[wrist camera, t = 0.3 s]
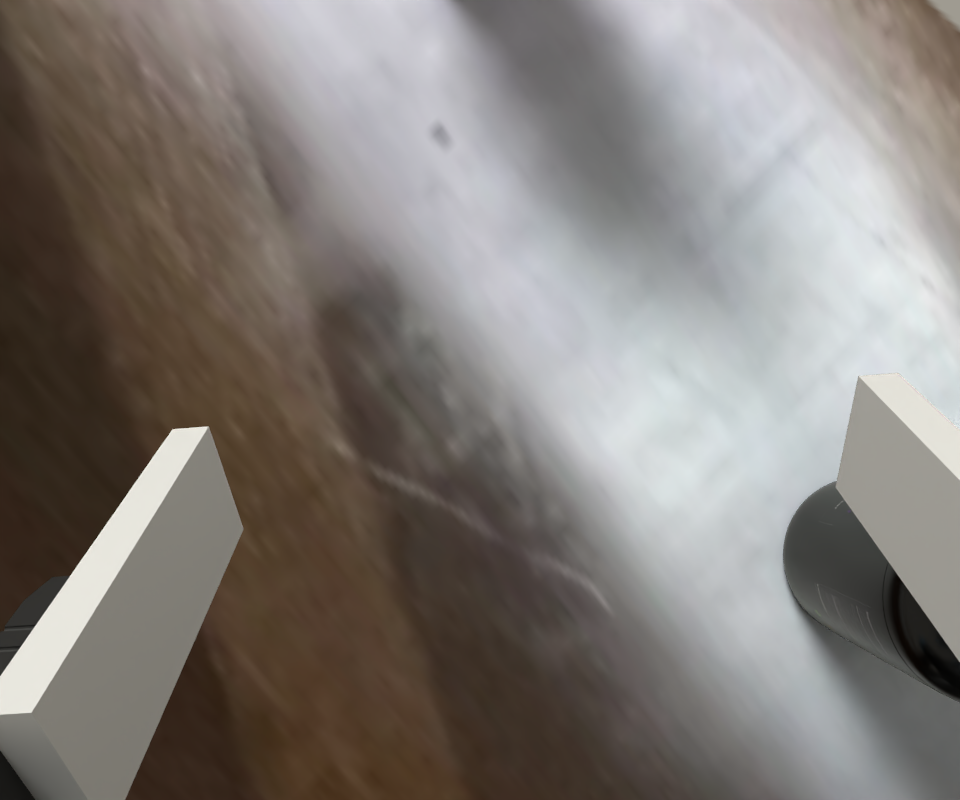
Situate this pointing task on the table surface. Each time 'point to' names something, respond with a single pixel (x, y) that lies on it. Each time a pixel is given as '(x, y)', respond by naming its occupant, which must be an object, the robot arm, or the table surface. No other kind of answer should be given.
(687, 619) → the table surface
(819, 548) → the supplement bottle
